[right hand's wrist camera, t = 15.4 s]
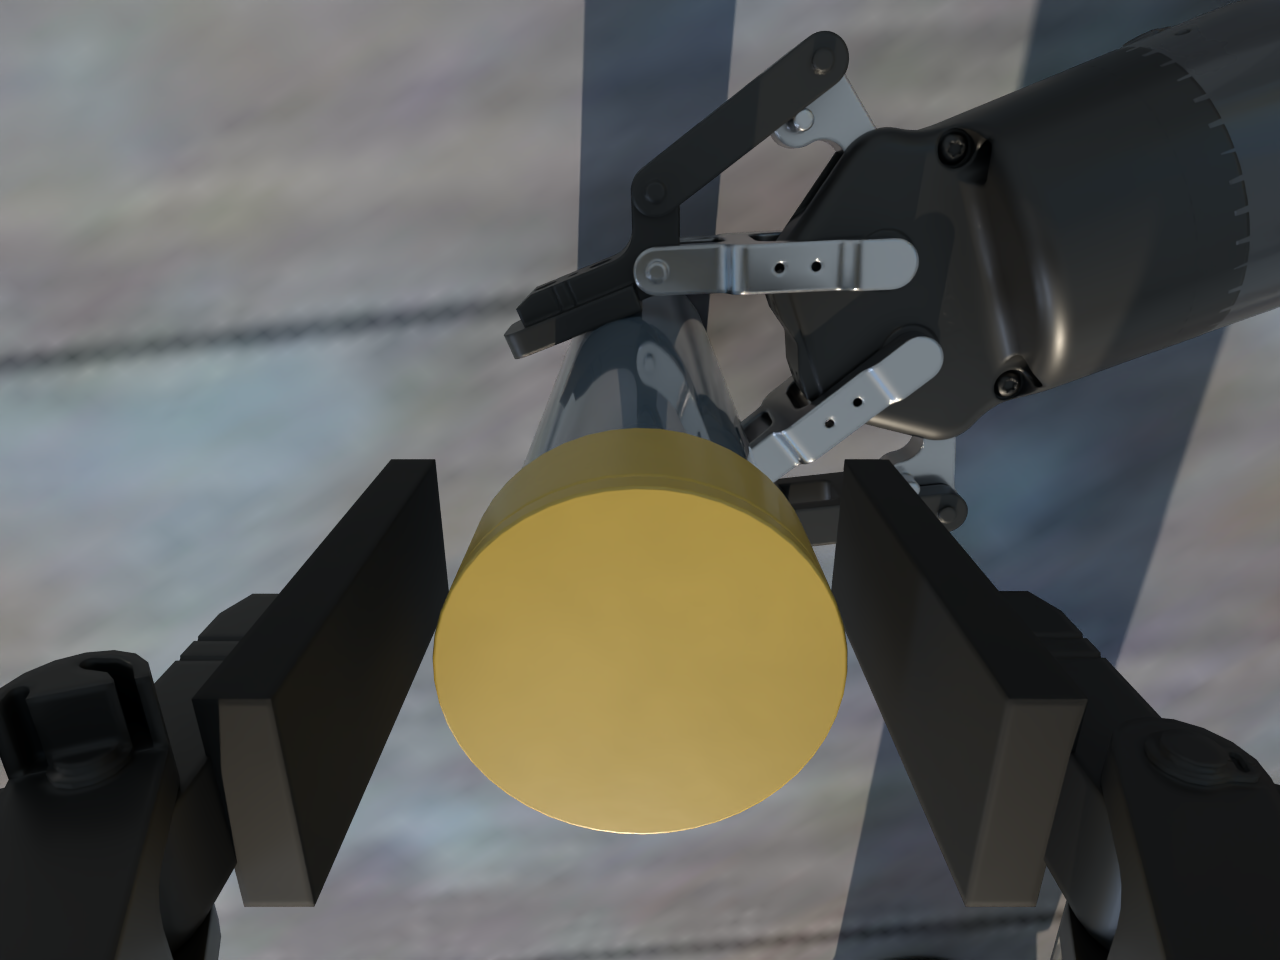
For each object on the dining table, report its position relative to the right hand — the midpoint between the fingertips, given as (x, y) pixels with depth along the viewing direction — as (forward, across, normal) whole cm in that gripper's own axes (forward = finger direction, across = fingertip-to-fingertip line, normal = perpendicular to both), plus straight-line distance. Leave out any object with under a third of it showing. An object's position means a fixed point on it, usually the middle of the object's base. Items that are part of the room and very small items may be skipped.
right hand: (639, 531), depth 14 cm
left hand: (+9, -2, -1) cm, 9 cm away
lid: (-4, 0, 0) cm, 4 cm away
